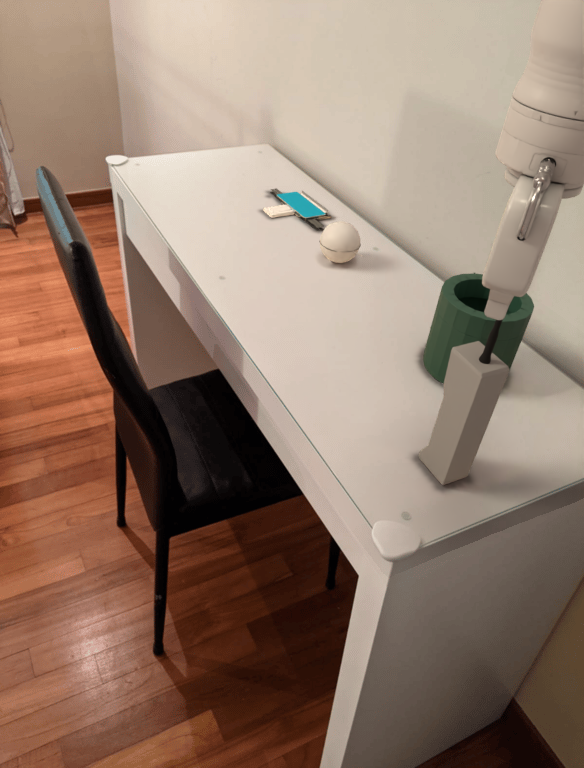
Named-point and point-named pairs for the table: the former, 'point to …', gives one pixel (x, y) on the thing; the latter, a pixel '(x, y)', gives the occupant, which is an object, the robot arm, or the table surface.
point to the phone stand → (298, 208)
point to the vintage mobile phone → (465, 408)
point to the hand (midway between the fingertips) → (503, 291)
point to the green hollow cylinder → (472, 323)
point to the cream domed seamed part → (340, 242)
